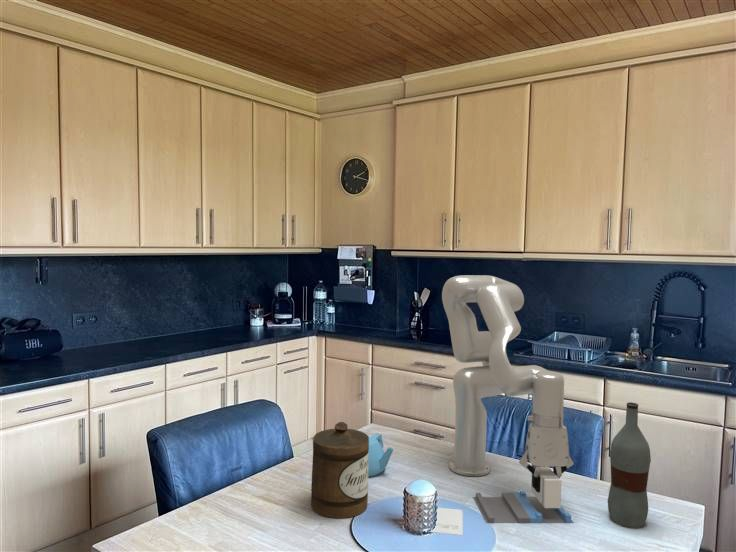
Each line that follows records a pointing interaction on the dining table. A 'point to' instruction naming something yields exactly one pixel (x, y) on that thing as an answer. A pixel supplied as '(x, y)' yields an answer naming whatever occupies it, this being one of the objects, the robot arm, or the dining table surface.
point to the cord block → (548, 488)
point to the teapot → (377, 455)
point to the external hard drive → (449, 521)
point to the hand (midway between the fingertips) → (545, 489)
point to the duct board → (518, 509)
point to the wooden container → (340, 472)
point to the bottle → (629, 473)
